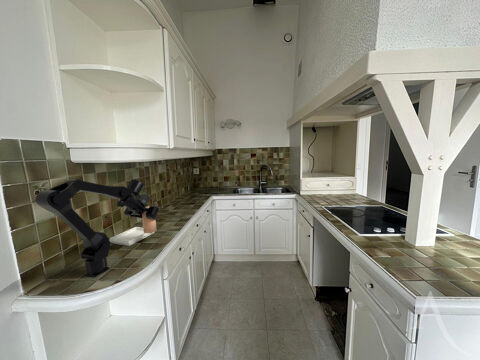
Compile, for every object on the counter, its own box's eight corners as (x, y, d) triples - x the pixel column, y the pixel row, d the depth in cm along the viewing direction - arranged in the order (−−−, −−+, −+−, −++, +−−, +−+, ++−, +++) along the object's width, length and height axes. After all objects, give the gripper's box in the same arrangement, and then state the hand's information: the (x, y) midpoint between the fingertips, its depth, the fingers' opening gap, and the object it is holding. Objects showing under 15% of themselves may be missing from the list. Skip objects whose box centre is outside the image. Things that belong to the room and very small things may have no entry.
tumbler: (150, 234, 108) (148, 209, 106) (140, 232, 110) (138, 209, 109) (159, 229, 114) (157, 206, 113) (149, 228, 116) (147, 205, 115)
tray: (129, 245, 108) (128, 241, 108) (109, 242, 113) (109, 238, 112) (154, 233, 125) (153, 229, 124) (136, 230, 130) (135, 226, 129)
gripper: (155, 190, 102) (171, 206, 114) (126, 189, 109) (144, 204, 120) (144, 210, 96) (162, 225, 108) (114, 207, 102) (134, 222, 114)
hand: (150, 218), depth 113 cm, fingers closed on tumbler, 6 cm apart
